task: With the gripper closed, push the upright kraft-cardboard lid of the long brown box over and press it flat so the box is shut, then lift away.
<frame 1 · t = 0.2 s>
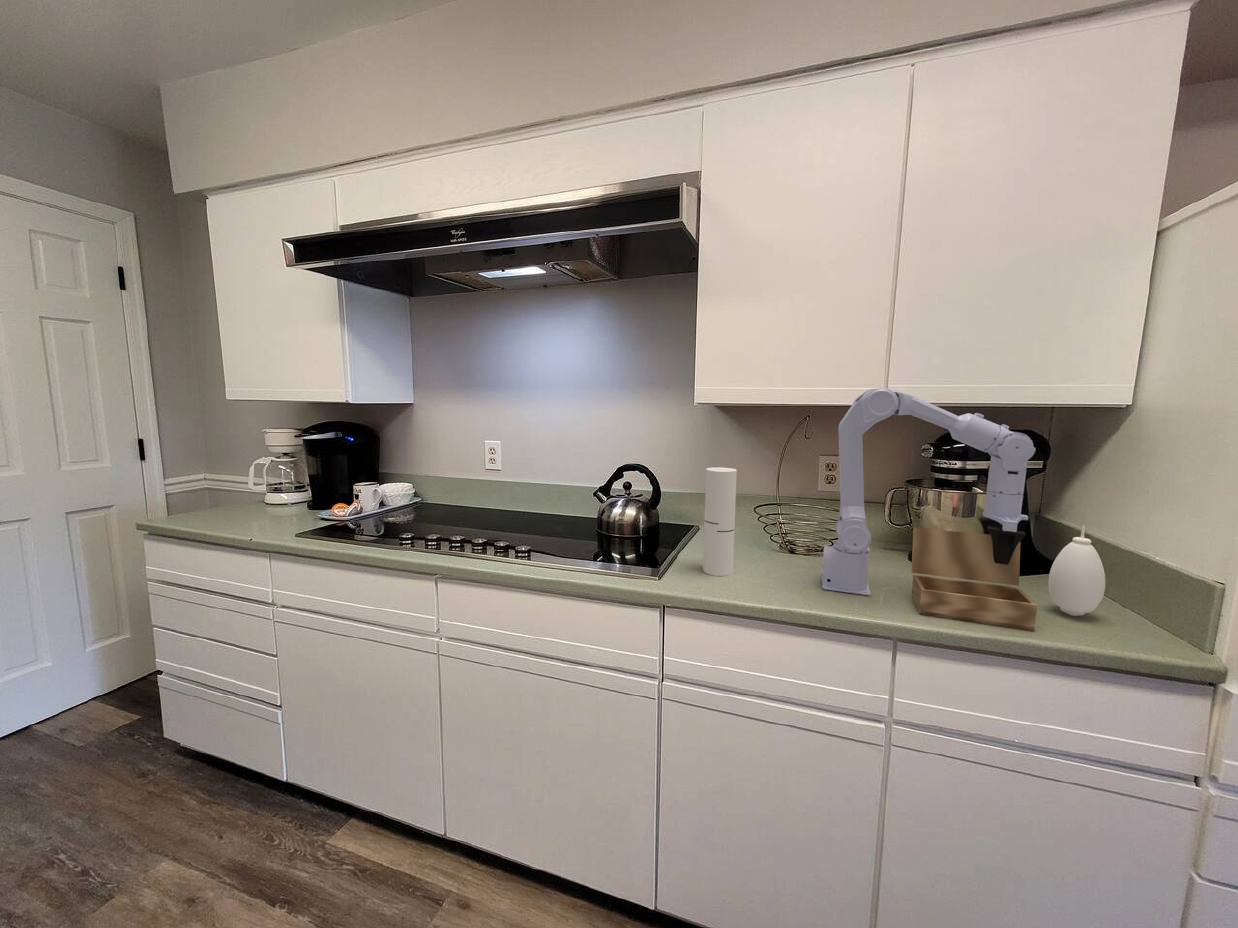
hand: (996, 557, 98), 10 cm above the worktop, tool pointing down, fingers open, 7 cm apart
lid: (964, 555, 100), point 10 cm above the worktop, hinge at 101.8°
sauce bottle: (1071, 614, 95), on the worktop
cylindrical container: (717, 571, 118), on the worktop
box: (967, 612, 95), on the worktop
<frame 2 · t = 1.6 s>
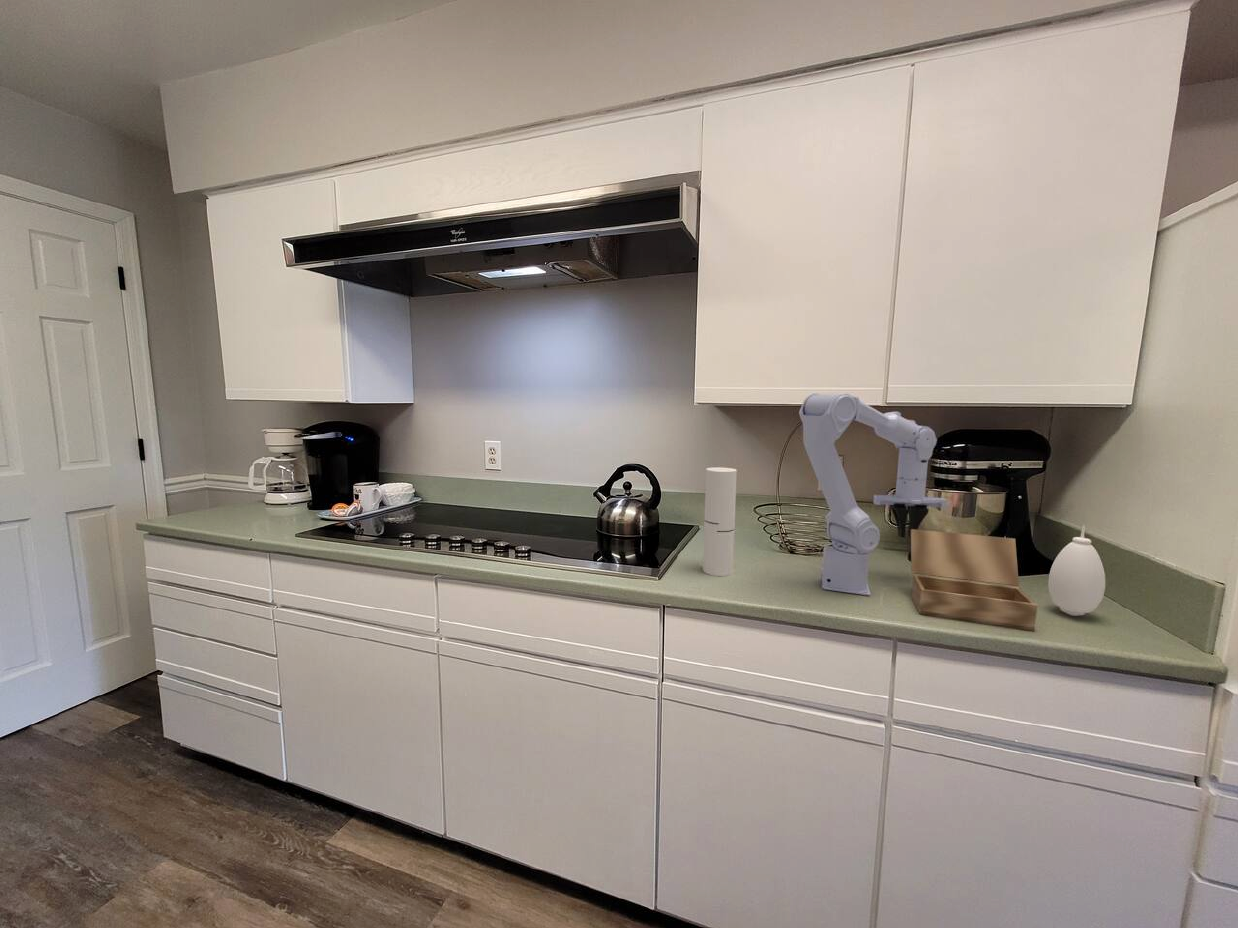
hand: (906, 536, 111), 10 cm above the worktop, tool pointing down, fingers closed
lid: (962, 556, 101), point 9 cm above the worktop, hinge at 118.1°
everything else where it was.
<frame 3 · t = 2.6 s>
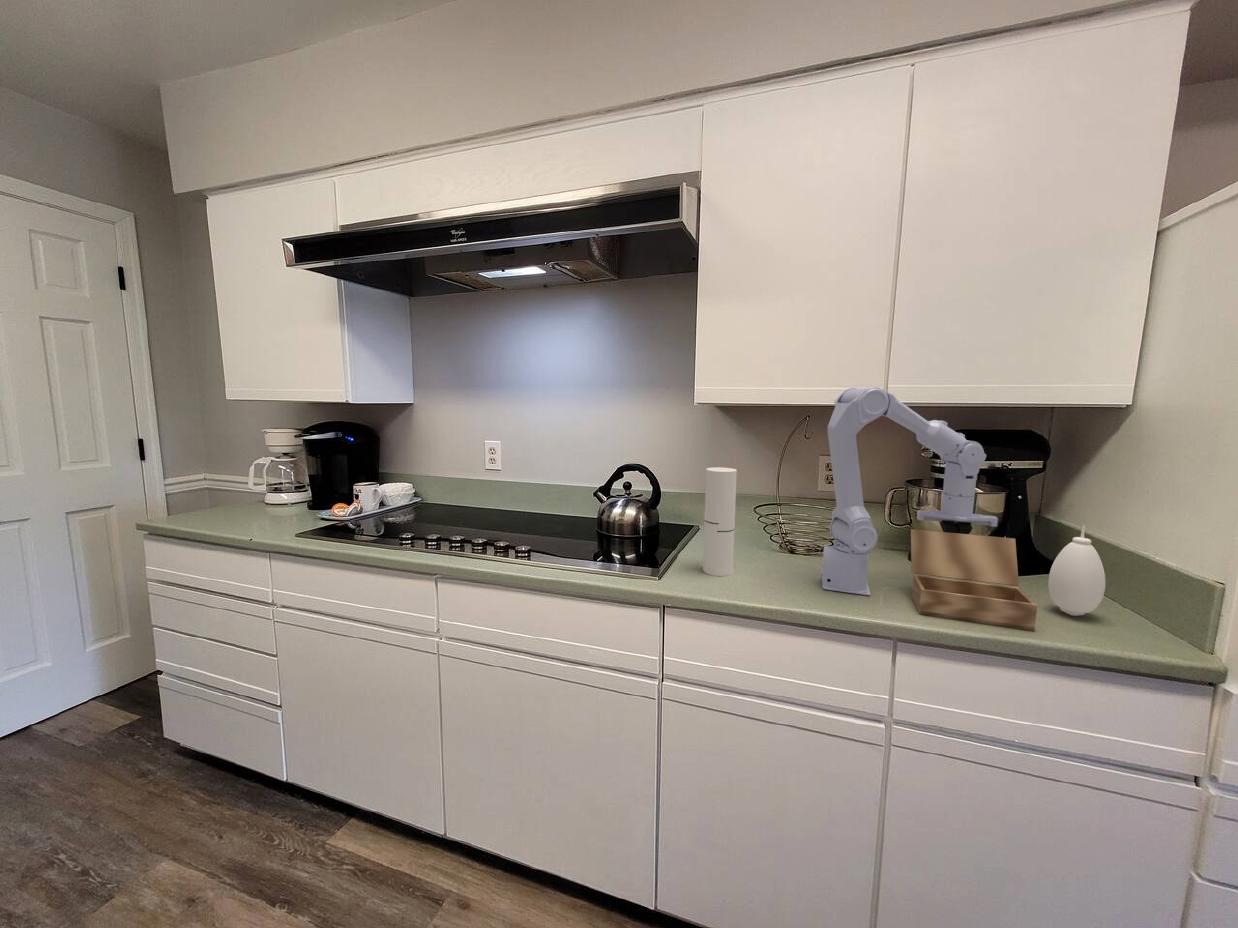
hand: (952, 554, 108), 8 cm above the worktop, tool pointing down, fingers closed
nothing on the worktop moved.
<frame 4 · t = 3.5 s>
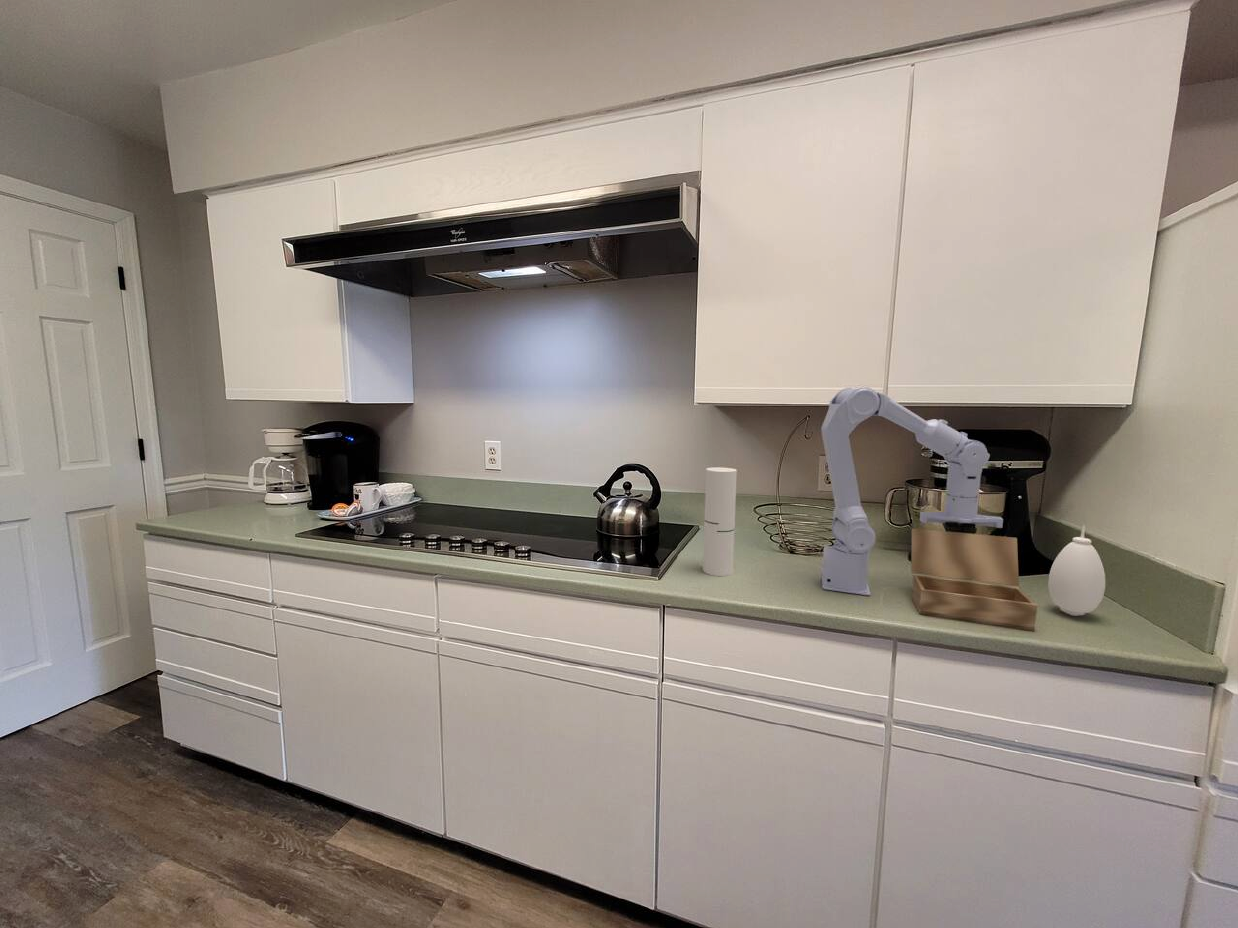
hand: (956, 556, 105), 8 cm above the worktop, tool pointing down, fingers closed, pressing on lid
lid: (962, 555, 100), point 10 cm above the worktop, hinge at 112.8°, touching gripper
everything else where it was.
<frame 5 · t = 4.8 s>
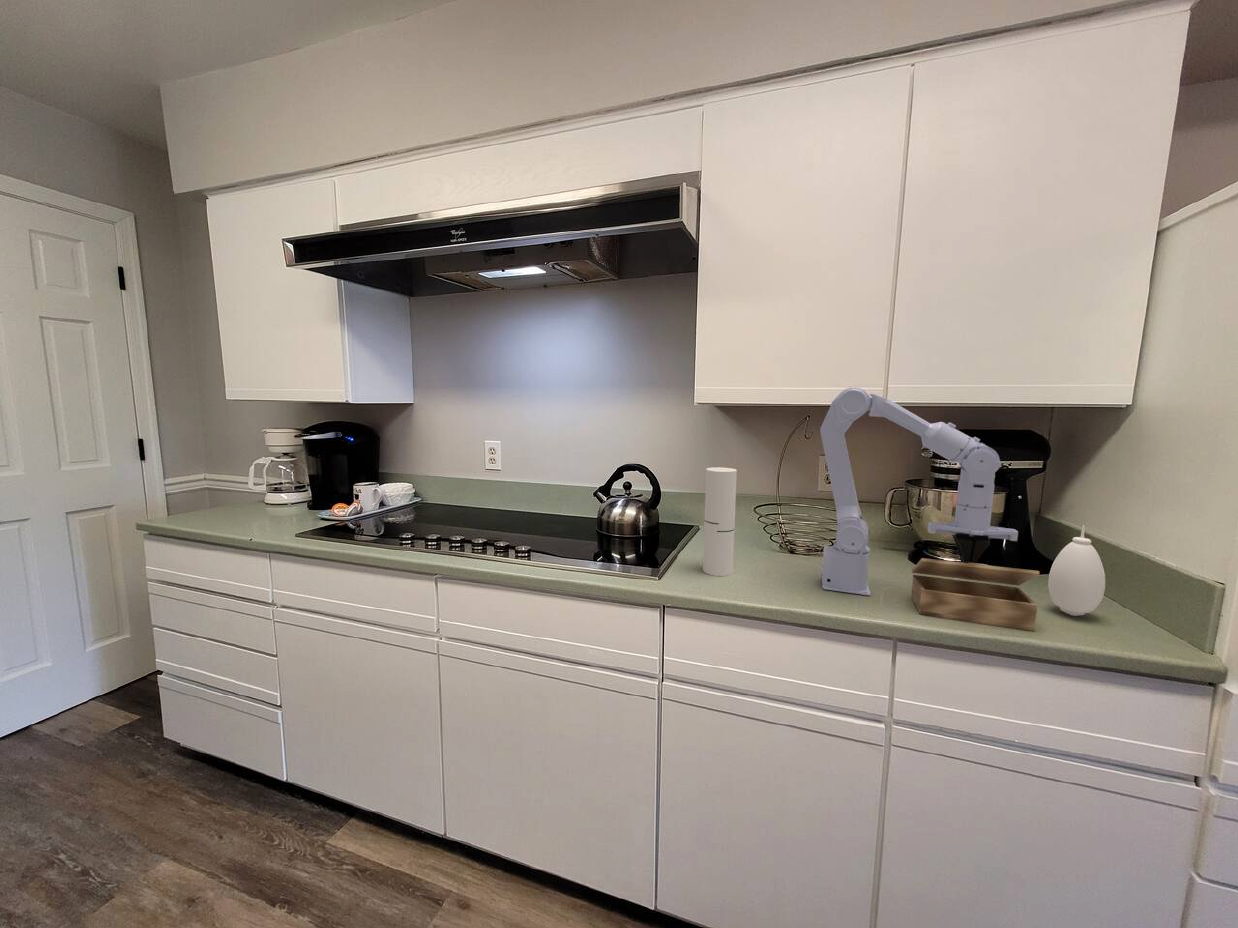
hand: (966, 570, 98), 7 cm above the worktop, tool pointing down, fingers closed, pressing on lid
lid: (970, 571, 95), point 8 cm above the worktop, hinge at 32.3°, touching gripper
everything else where it was.
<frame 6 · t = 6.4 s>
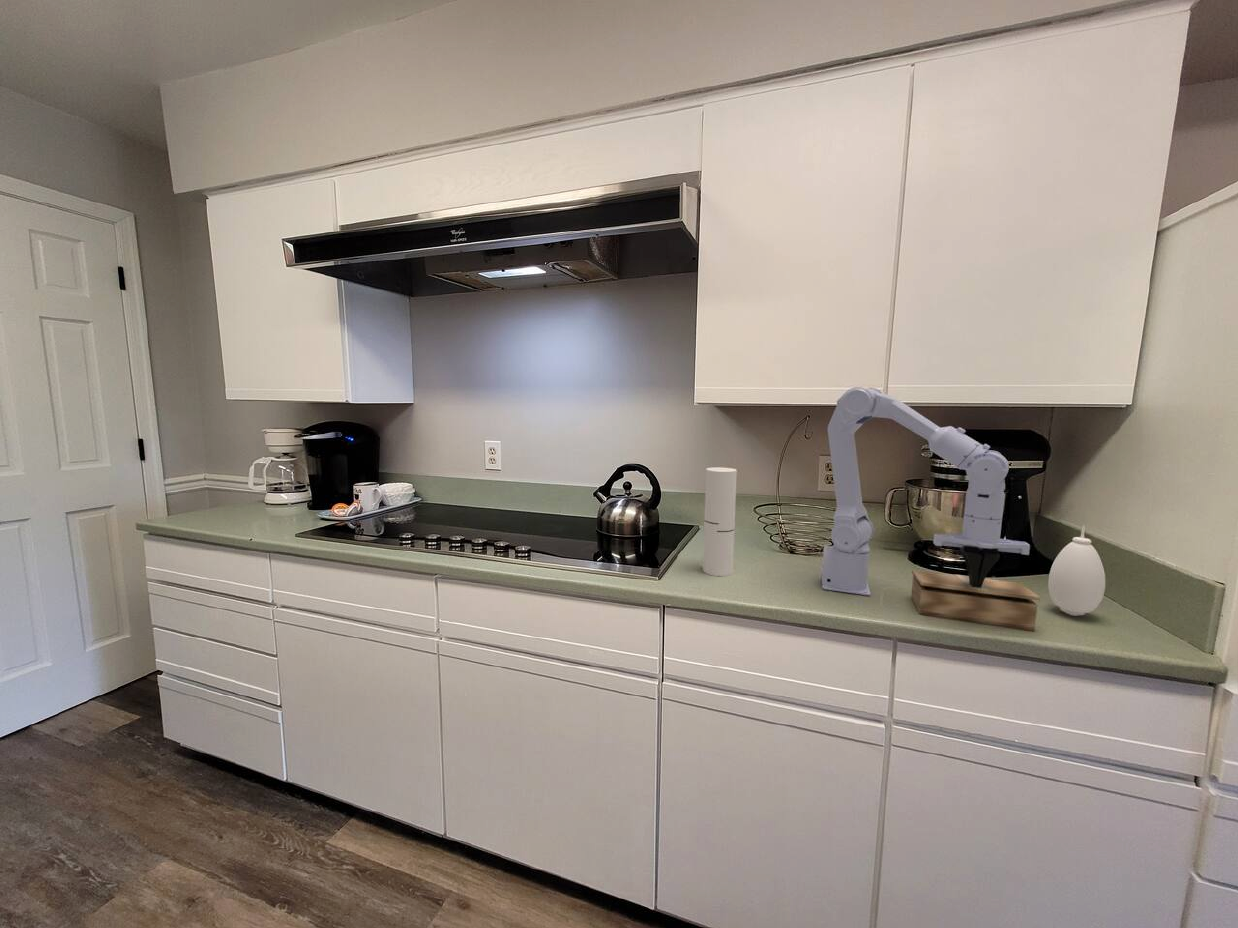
hand: (975, 585, 92), 7 cm above the worktop, tool pointing down, fingers closed, pressing on lid
lid: (970, 583, 95), point 6 cm above the worktop, hinge at 4.2°, touching gripper
everything else where it was.
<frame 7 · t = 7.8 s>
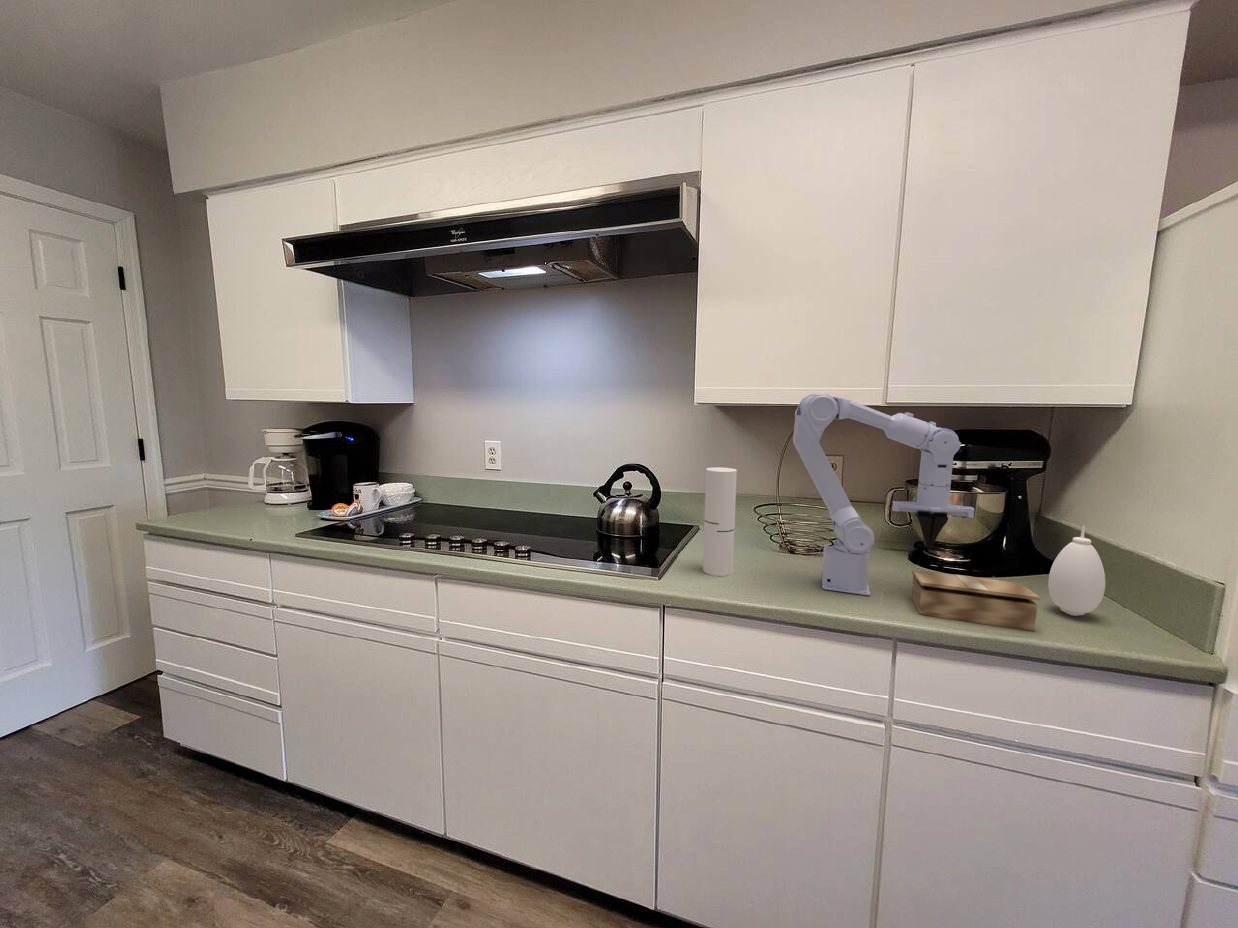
hand: (928, 546, 104), 10 cm above the worktop, tool pointing down, fingers closed
lid: (970, 583, 95), point 6 cm above the worktop, hinge at 4.1°
everything else where it was.
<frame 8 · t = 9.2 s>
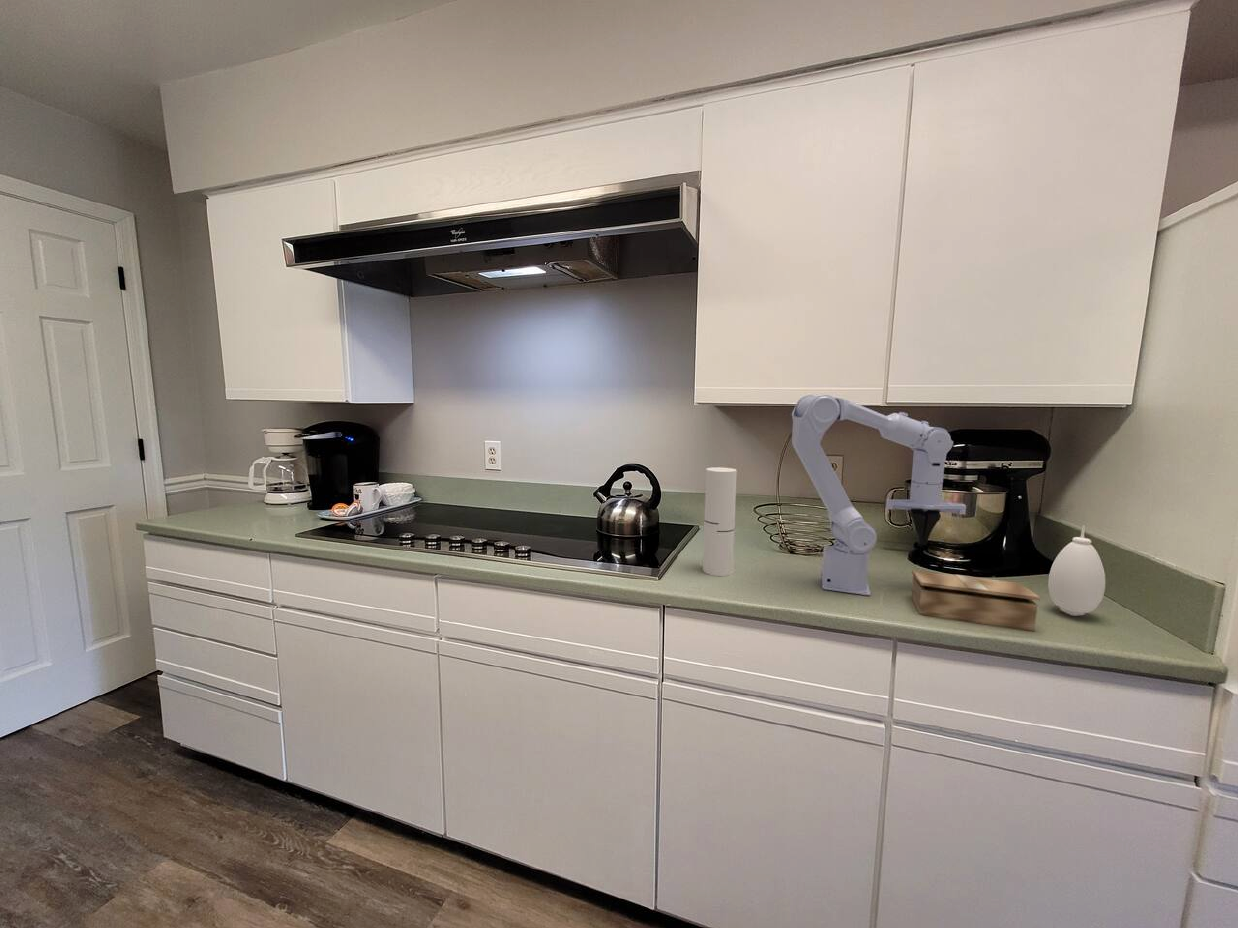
hand: (921, 543, 106), 10 cm above the worktop, tool pointing down, fingers closed
nothing on the worktop moved.
at the end: lid at +4° (first picture: +102°); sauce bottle moved 0.2 cm from its start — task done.
